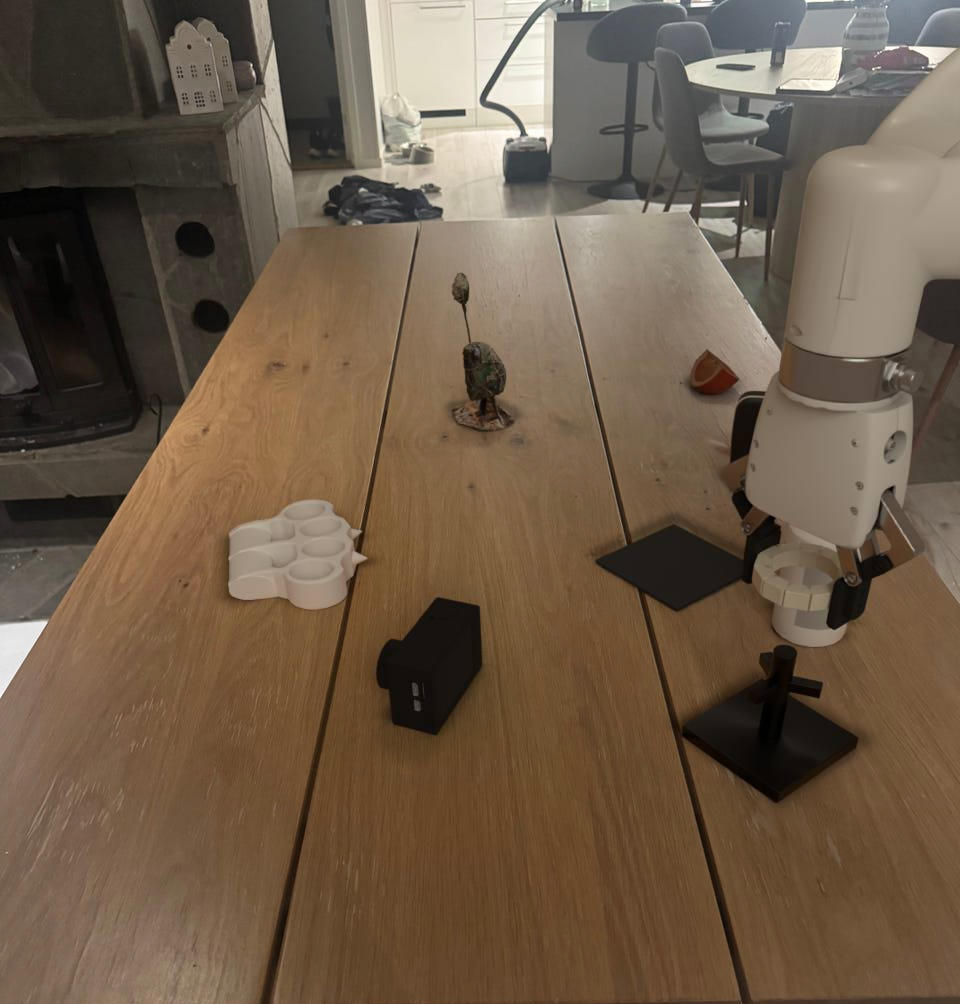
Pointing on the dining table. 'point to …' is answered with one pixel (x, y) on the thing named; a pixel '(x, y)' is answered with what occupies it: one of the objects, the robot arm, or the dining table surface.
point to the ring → (790, 592)
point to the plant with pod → (480, 376)
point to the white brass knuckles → (294, 556)
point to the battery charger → (744, 423)
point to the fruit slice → (712, 374)
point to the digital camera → (432, 665)
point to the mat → (674, 566)
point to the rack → (772, 730)
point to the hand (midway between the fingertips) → (799, 596)
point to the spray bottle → (807, 624)
